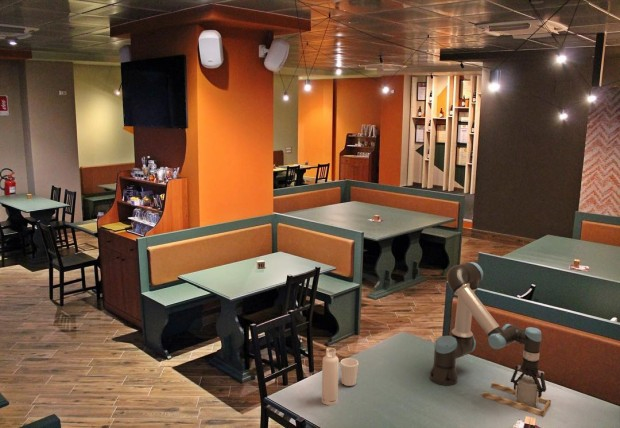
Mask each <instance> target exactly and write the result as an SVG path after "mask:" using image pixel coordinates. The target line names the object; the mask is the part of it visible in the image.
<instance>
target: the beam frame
mask: <svg viewBox="0 0 620 428" xmlns="http://www.w3.org/2000/svg"><path fill="white" fill-rule="evenodd" d="M490 387H491V388H493V389H496V390H499V391H502V392H505V393H509V394H512V395H514V396H515V391H516V390H514V387H513V388H512V387H510V386H506V385H503V384H500V383H497V382H494V381H491V386H490ZM482 398H486V399H488V400H492V401H495V402H497V403H500V404H504V405H507V406H510V407H512V408H515V409H519V410H522V411H525V412H528V413H531V414H534V415H537V416H539V417H542V418H544V417H545V414H546V413H547V412H548V410H549V408H550V406H551V402H552V400H551V399H548V398H544V397H542V396H541V397H540V398H539V402H538V404H543V405H544V406H543V408H541V409H539V408H536V407H534V408H533V407H530V406H527V405H525V403H522V402H521V403H518V402H516V400H515V401H514V400H512V399H509V398H505V397H502V396H499V395H497V394H493V393H490V392H487V391H483V392H482Z"/></svg>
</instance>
